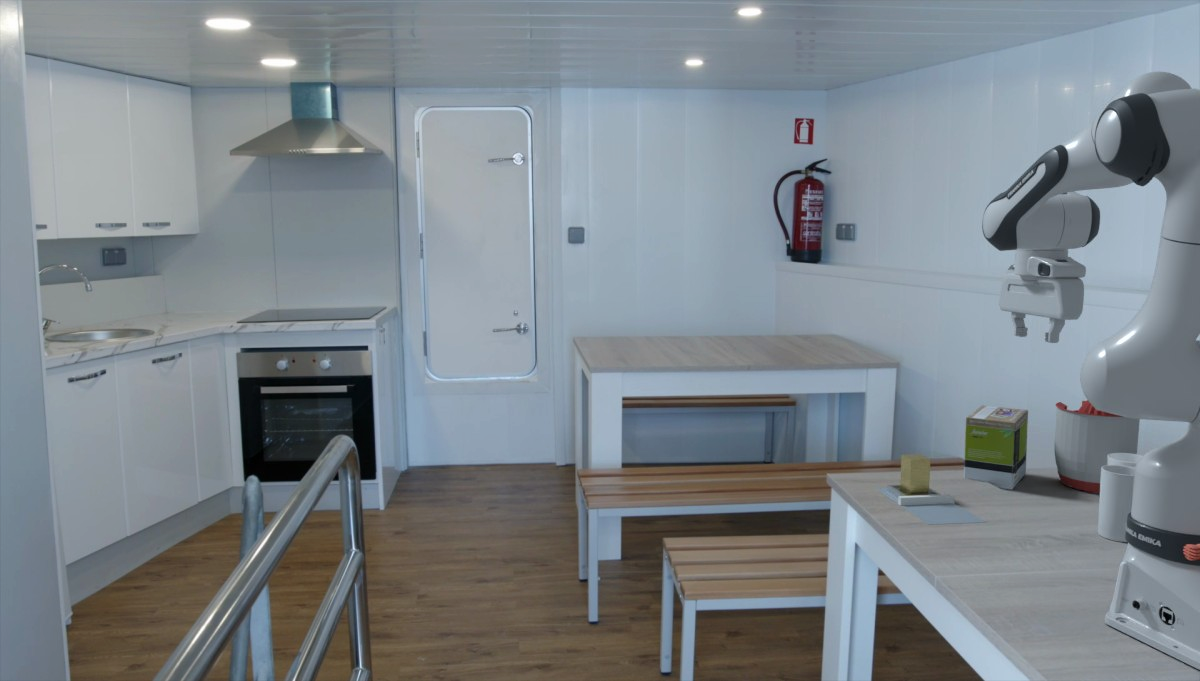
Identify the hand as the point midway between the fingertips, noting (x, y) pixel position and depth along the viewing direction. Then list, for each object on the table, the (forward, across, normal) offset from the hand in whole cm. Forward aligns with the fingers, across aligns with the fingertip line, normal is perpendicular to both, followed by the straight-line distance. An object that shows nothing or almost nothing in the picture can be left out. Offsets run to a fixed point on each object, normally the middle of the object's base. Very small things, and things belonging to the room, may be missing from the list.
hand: (1035, 339), depth 164 cm
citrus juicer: (+33, -13, +23) cm, 42 cm away
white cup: (+33, +2, +20) cm, 39 cm away
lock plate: (+33, -2, -19) cm, 38 cm away
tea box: (+33, -20, +6) cm, 39 cm away
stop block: (+32, -8, -19) cm, 38 cm away
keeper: (+33, -8, -19) cm, 39 cm away
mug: (+33, +15, +8) cm, 37 cm away
